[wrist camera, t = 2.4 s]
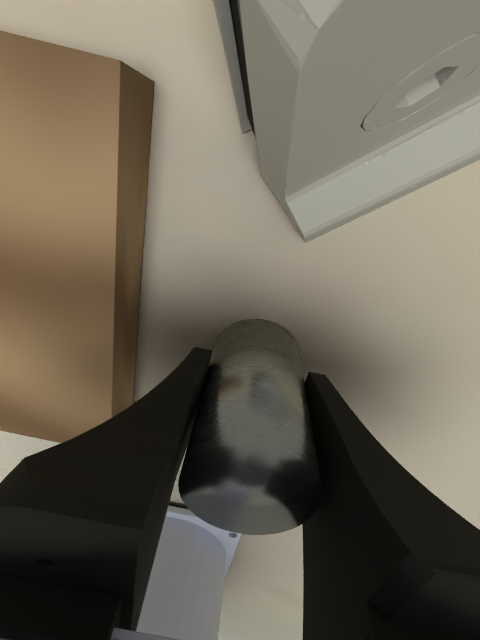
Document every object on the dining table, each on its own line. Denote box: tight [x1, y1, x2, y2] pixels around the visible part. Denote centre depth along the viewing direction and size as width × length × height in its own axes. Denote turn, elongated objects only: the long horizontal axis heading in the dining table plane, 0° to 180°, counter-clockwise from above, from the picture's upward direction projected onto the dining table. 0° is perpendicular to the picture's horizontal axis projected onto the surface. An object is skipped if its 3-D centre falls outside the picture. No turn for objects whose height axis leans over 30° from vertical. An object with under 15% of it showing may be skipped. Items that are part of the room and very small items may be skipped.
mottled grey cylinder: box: [178, 319, 322, 535], centre depth 11 cm, size 4×4×6 cm
